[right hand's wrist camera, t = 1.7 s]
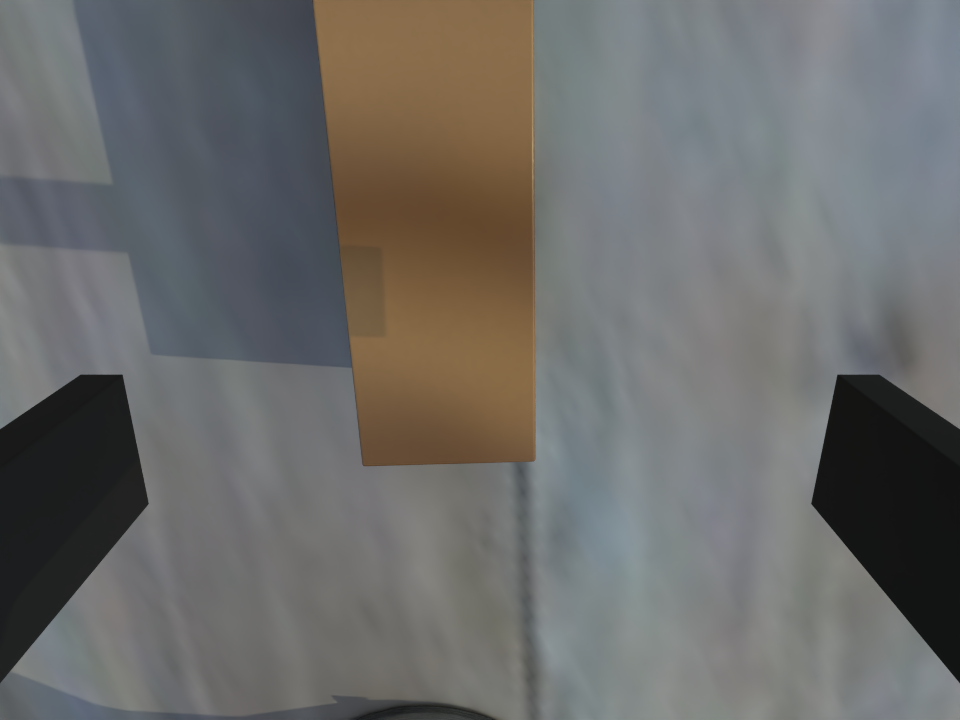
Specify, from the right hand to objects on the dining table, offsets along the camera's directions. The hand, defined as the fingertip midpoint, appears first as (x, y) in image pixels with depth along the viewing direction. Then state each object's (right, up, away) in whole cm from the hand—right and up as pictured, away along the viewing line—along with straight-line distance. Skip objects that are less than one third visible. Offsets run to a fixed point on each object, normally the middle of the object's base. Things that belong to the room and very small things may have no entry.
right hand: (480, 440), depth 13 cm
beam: (-2, +33, +5) cm, 33 cm away
